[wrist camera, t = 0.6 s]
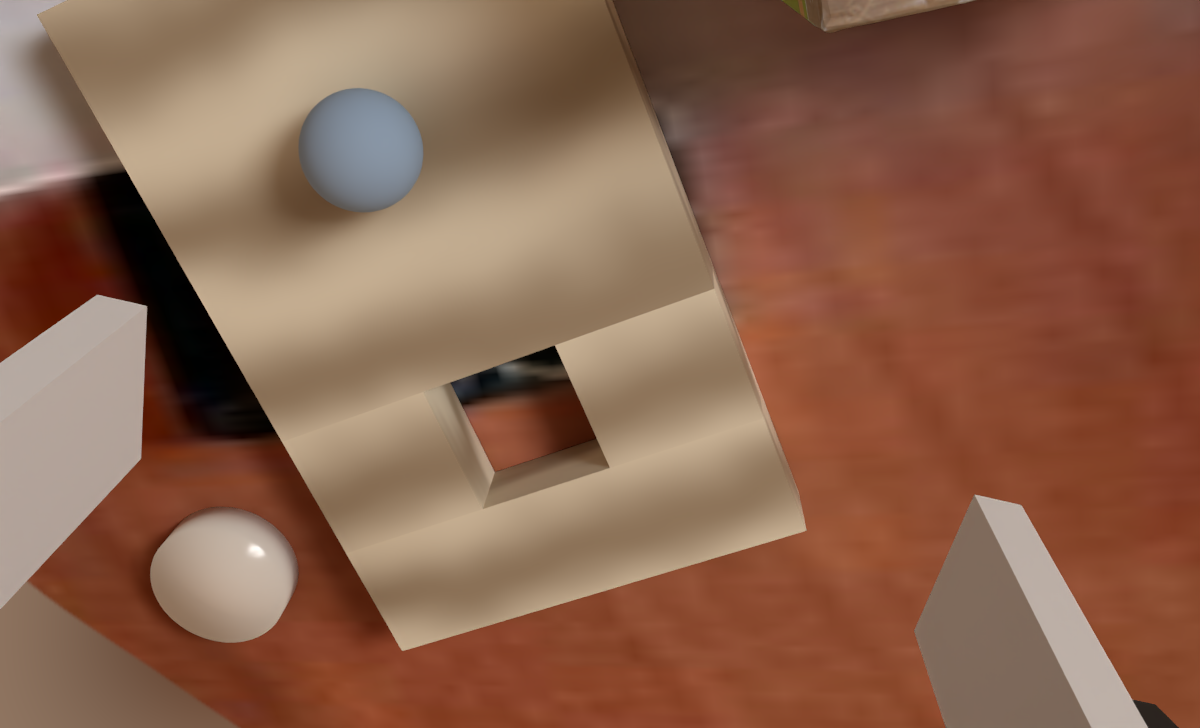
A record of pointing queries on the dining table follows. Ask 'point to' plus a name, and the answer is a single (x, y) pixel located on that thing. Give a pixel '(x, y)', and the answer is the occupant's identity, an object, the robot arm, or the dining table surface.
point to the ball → (360, 150)
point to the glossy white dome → (224, 574)
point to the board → (450, 286)
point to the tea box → (861, 11)
